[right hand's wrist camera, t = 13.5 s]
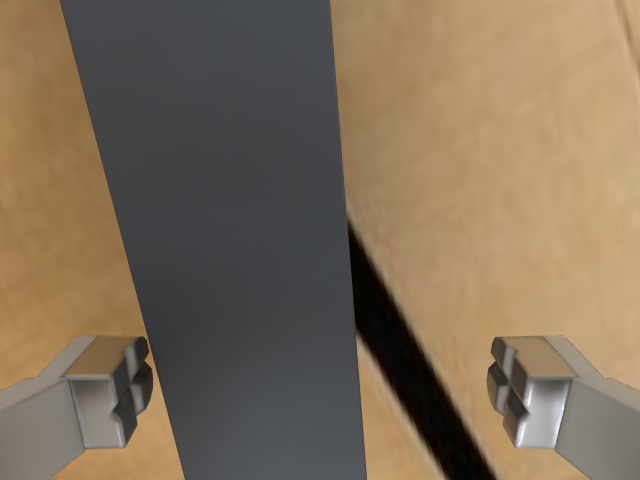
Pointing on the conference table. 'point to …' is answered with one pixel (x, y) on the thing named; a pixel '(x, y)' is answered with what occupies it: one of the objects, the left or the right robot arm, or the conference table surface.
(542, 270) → the conference table surface
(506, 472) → the conference table surface
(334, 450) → the bar
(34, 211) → the conference table surface
